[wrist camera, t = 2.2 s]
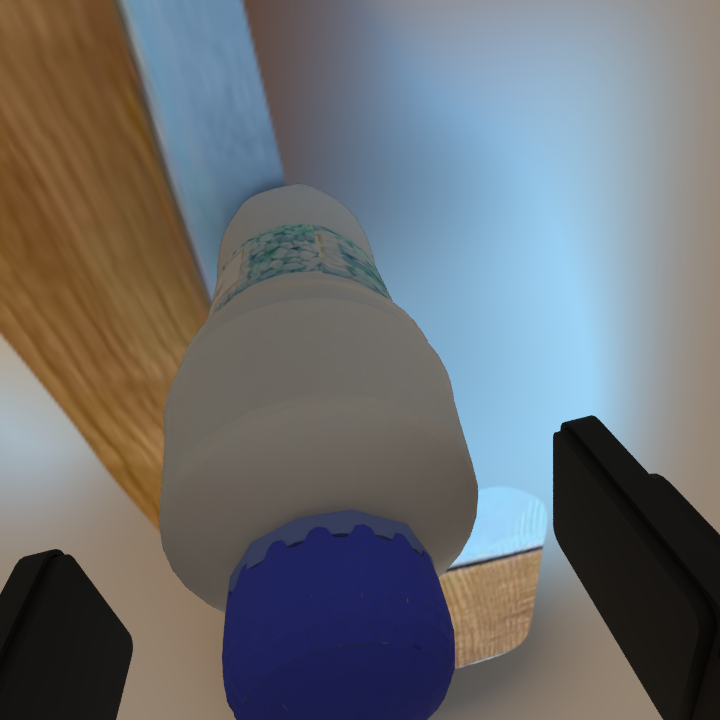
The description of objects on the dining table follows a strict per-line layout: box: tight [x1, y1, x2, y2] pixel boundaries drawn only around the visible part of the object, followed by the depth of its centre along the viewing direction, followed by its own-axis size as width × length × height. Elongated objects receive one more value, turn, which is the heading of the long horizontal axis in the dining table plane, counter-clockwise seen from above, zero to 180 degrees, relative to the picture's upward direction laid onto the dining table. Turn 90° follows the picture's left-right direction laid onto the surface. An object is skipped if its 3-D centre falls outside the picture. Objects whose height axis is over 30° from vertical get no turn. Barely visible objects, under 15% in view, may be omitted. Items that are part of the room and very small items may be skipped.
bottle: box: [159, 184, 478, 720], centre depth 15 cm, size 7×7×20 cm
